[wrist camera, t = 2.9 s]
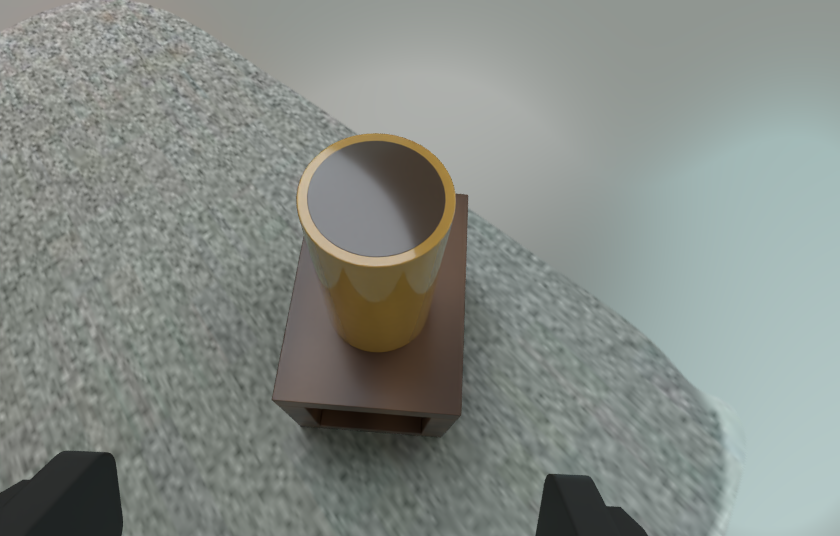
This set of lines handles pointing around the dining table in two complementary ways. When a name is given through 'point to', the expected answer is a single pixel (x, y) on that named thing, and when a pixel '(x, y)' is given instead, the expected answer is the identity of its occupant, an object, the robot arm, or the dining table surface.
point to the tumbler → (376, 235)
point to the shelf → (377, 359)
